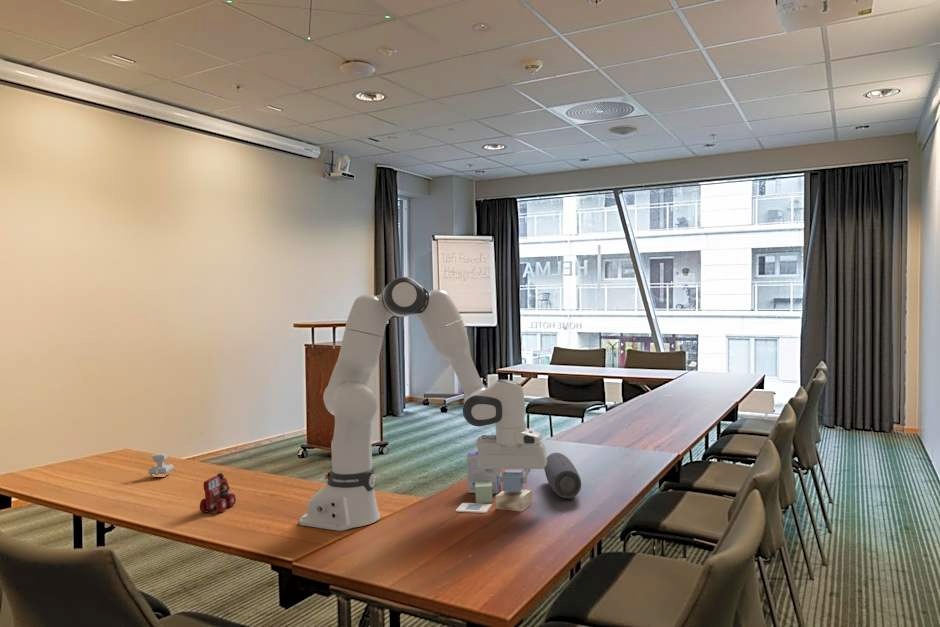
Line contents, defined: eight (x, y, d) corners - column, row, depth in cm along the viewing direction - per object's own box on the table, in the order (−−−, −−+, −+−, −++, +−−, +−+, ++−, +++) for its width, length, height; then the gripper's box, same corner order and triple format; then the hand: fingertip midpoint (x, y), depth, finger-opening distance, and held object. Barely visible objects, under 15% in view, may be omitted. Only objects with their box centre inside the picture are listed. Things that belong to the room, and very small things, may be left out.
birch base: (496, 509, 186) (495, 495, 186) (506, 501, 193) (506, 488, 193) (522, 512, 182) (521, 498, 182) (531, 504, 190) (531, 490, 190)
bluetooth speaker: (584, 501, 189) (582, 467, 188) (552, 503, 189) (551, 469, 188) (571, 480, 211) (570, 450, 211) (543, 481, 211) (541, 451, 211)
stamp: (165, 479, 236) (164, 456, 236) (146, 480, 235) (145, 457, 235) (175, 473, 245) (174, 450, 245) (157, 474, 244) (156, 451, 244)
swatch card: (455, 511, 185) (455, 509, 185) (462, 504, 191) (462, 502, 191) (486, 513, 182) (486, 511, 182) (492, 505, 189) (491, 503, 189)
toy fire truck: (239, 502, 203) (237, 470, 203) (218, 516, 191) (216, 481, 190) (218, 502, 204) (217, 470, 204) (196, 515, 192) (194, 481, 191)
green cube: (475, 503, 192) (475, 486, 192) (476, 498, 197) (475, 482, 197) (492, 502, 192) (492, 486, 192) (492, 497, 197) (491, 481, 197)
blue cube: (502, 491, 186) (502, 474, 186) (506, 486, 191) (505, 469, 191) (519, 492, 185) (519, 474, 184) (523, 487, 189) (522, 470, 189)
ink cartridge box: (502, 489, 205) (500, 443, 205) (498, 494, 200) (496, 447, 199) (472, 488, 207) (470, 443, 207) (467, 493, 202) (465, 447, 202)
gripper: (473, 437, 187) (475, 484, 187) (543, 438, 182) (545, 487, 182) (479, 432, 193) (481, 478, 193) (547, 433, 188) (549, 481, 188)
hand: (512, 482), depth 188 cm, fingers open, 5 cm apart
